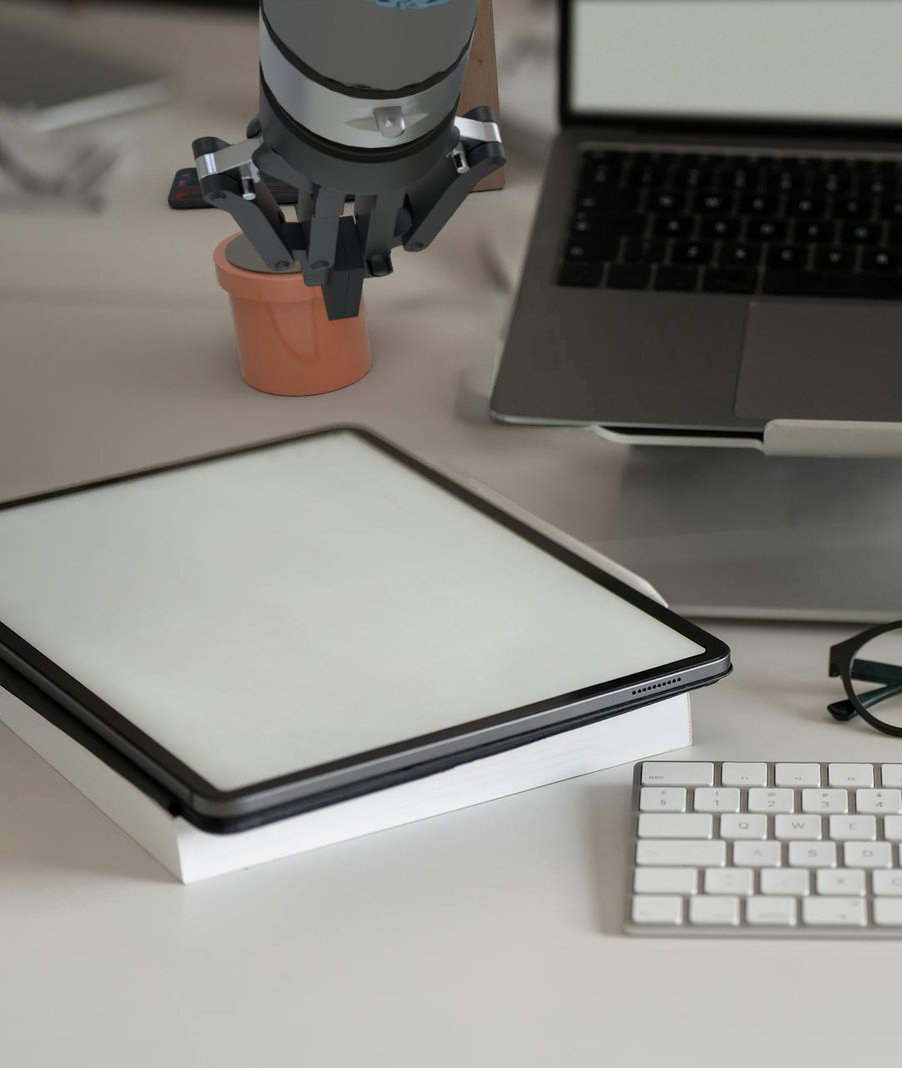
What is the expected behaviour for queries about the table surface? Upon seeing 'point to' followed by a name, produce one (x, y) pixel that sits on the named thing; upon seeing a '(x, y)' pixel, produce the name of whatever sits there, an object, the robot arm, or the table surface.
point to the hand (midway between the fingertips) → (337, 293)
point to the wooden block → (482, 81)
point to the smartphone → (190, 195)
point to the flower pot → (287, 326)
